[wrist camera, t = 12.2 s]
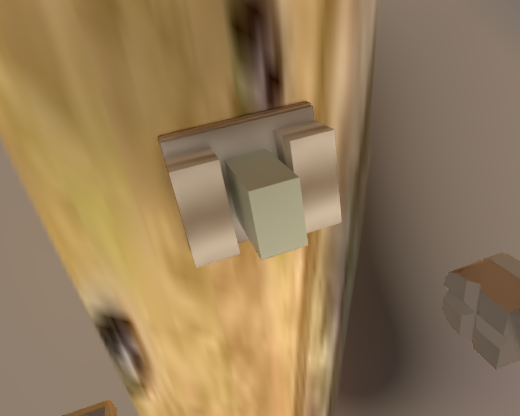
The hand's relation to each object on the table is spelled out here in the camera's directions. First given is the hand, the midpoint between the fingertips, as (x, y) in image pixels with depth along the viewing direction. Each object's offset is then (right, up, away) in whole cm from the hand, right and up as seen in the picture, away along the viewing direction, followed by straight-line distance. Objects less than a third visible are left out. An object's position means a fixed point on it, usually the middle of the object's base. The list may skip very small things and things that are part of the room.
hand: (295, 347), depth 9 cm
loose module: (-2, +5, +28) cm, 28 cm away
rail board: (-2, +6, +29) cm, 30 cm away
